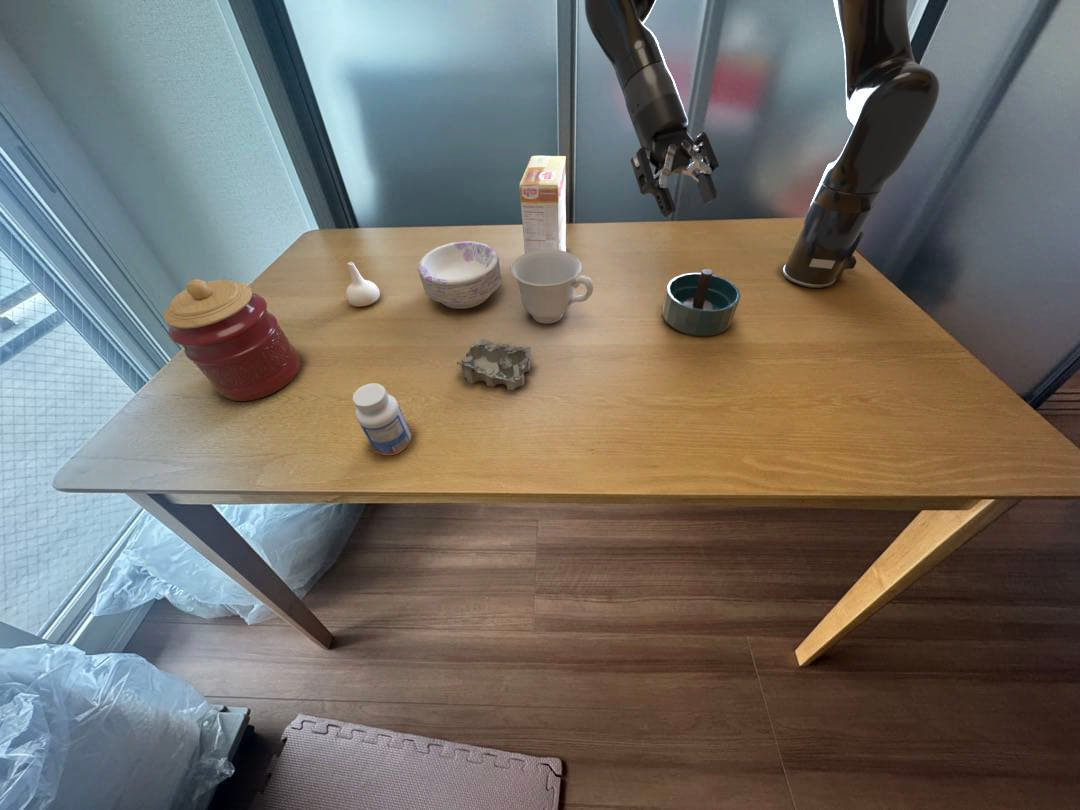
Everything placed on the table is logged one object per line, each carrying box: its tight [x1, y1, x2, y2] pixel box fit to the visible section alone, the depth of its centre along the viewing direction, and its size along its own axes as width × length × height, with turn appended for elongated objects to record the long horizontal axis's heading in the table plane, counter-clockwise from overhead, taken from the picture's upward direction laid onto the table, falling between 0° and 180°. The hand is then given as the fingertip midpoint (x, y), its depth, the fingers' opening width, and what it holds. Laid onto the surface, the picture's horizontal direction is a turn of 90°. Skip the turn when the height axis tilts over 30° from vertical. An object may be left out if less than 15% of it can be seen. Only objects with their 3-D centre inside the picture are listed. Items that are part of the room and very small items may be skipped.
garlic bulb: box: [345, 261, 381, 307], centre depth 81 cm, size 6×6×8 cm
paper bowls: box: [417, 240, 502, 310], centre depth 81 cm, size 15×15×8 cm
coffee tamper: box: [683, 268, 714, 310], centre depth 72 cm, size 5×5×8 cm
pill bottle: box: [352, 382, 412, 456], centre depth 55 cm, size 6×5×10 cm
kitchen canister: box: [163, 279, 301, 402], centre depth 63 cm, size 13×13×18 cm
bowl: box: [661, 272, 742, 337], centre depth 73 cm, size 12×12×6 cm
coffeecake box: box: [518, 155, 567, 254], centre depth 83 cm, size 15×7×20 cm, turn 172°
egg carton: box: [456, 339, 532, 391], centre depth 66 cm, size 11×8×4 cm
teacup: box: [510, 249, 594, 325], centre depth 74 cm, size 12×15×10 cm
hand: (691, 207), depth 67 cm, fingers open, 8 cm apart
